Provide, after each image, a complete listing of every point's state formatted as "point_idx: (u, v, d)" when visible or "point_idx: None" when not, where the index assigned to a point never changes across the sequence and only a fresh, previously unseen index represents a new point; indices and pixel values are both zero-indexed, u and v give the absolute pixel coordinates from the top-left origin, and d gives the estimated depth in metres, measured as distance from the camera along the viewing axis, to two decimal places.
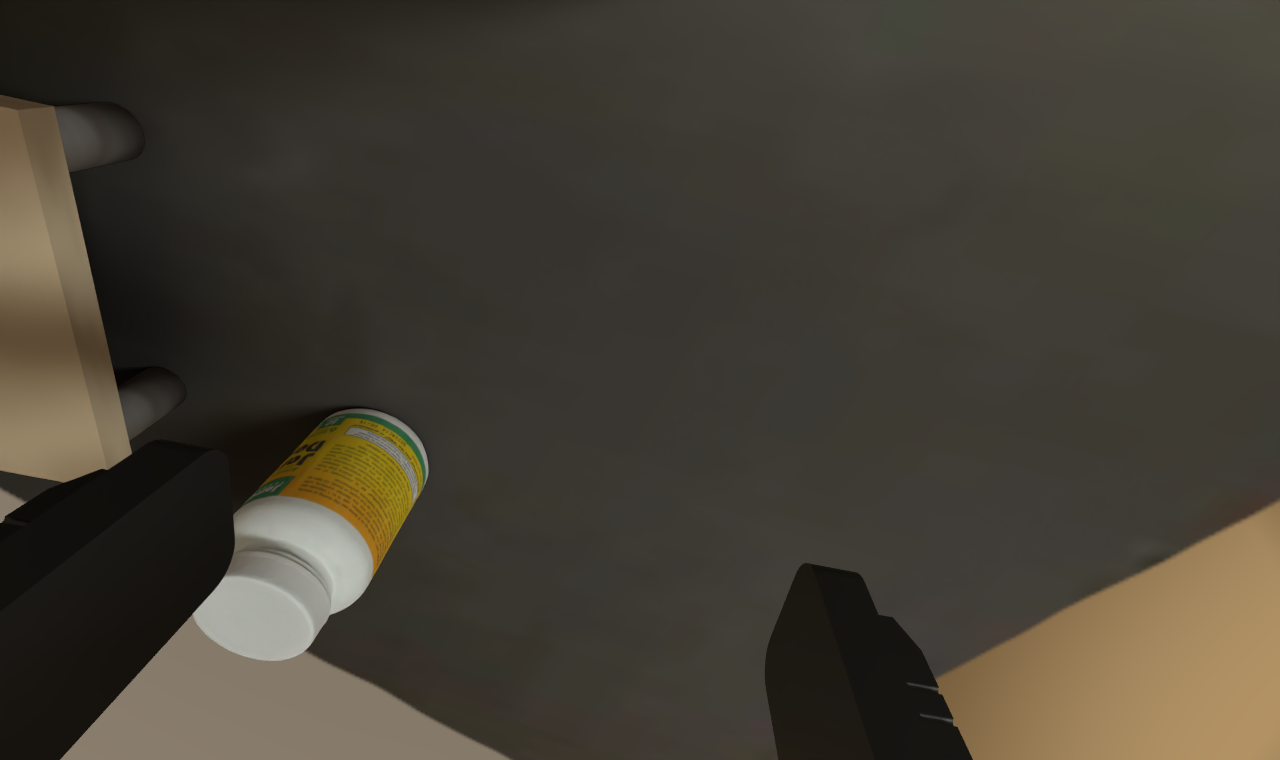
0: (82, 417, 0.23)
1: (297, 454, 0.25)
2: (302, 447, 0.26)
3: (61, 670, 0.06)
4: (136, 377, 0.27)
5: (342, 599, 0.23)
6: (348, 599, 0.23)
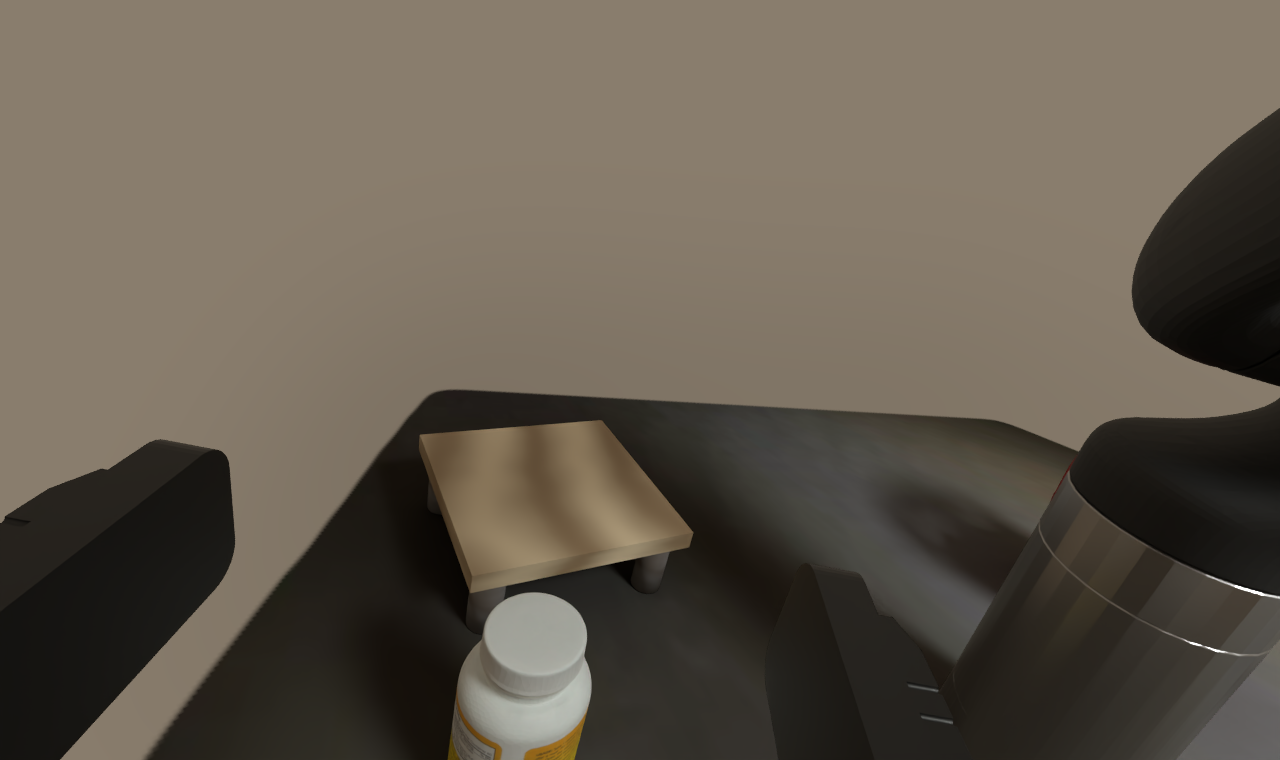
0: (530, 558, 0.35)
1: None
2: None
3: (61, 671, 0.06)
4: None
5: (525, 717, 0.23)
6: (524, 723, 0.23)
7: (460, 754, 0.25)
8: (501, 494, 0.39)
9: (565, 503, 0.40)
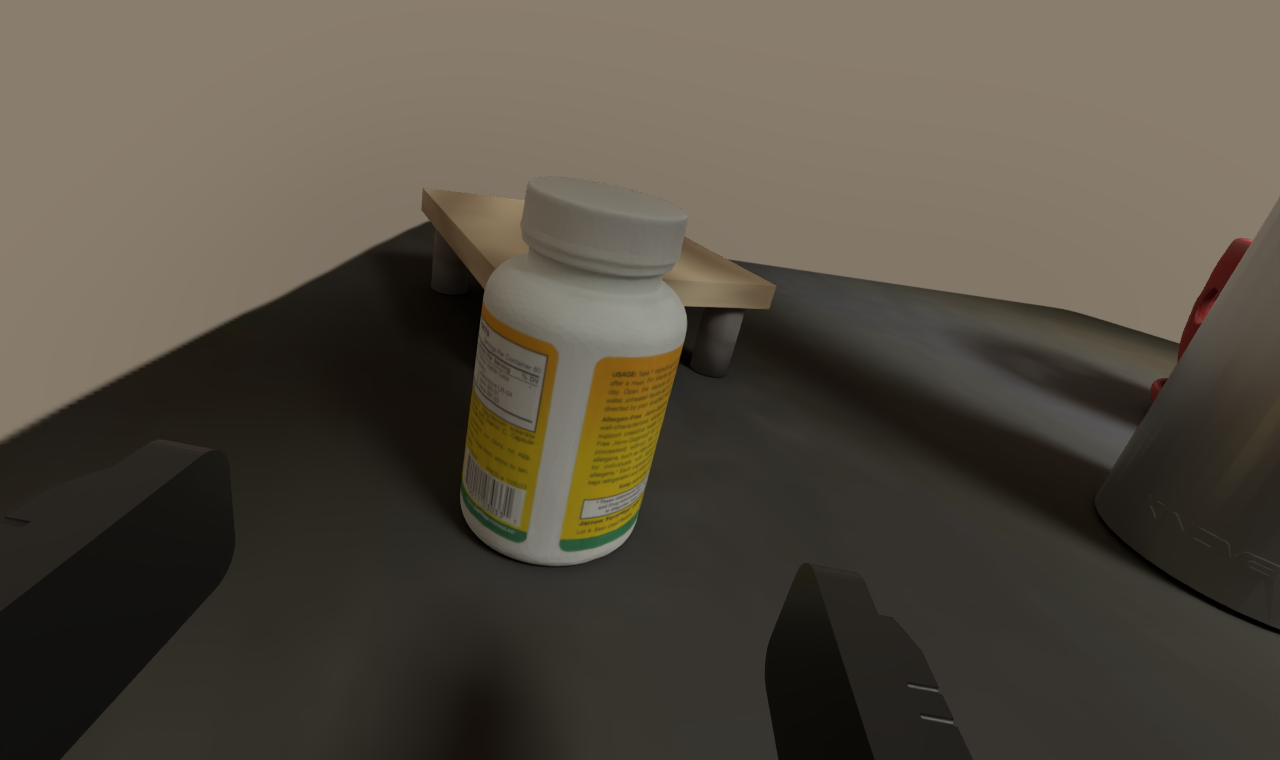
0: None
1: None
2: None
3: (61, 671, 0.06)
4: None
5: (596, 304, 0.15)
6: (595, 311, 0.14)
7: (487, 398, 0.16)
8: None
9: None
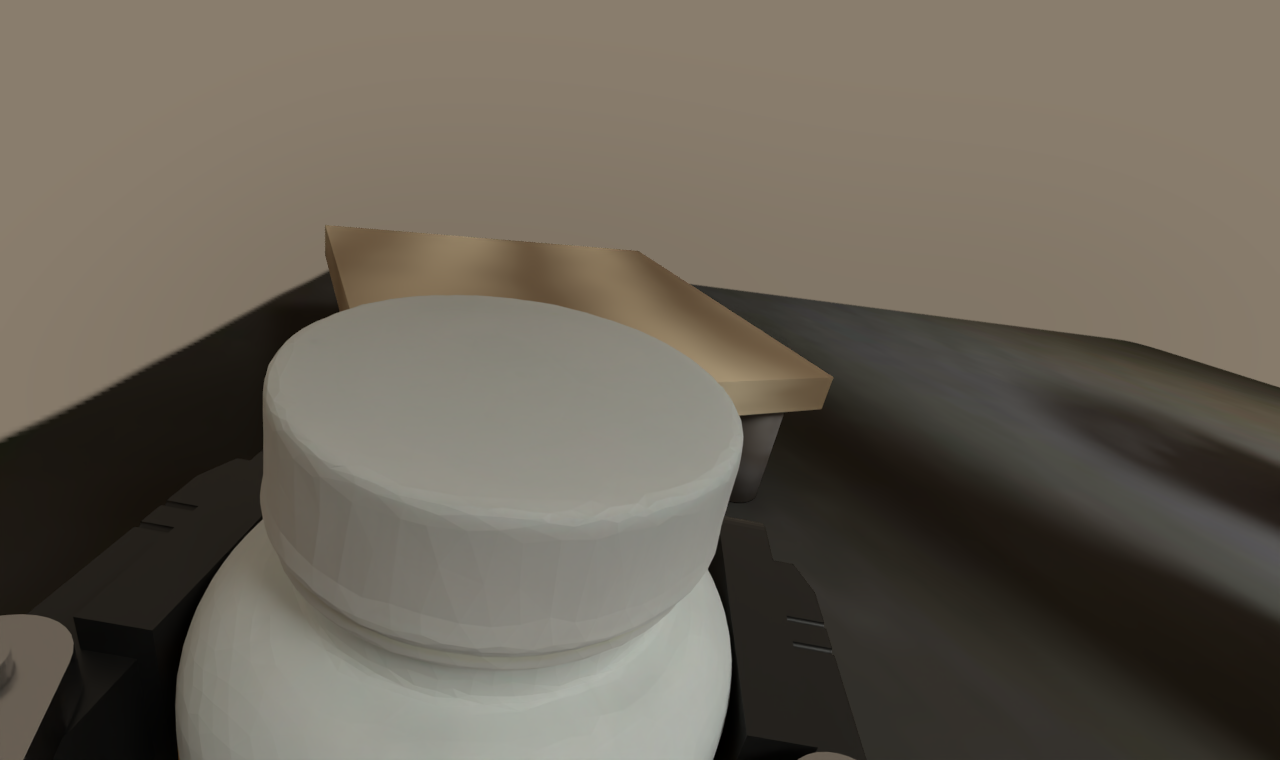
0: None
1: None
2: None
3: None
4: None
5: None
6: None
7: None
8: None
9: None
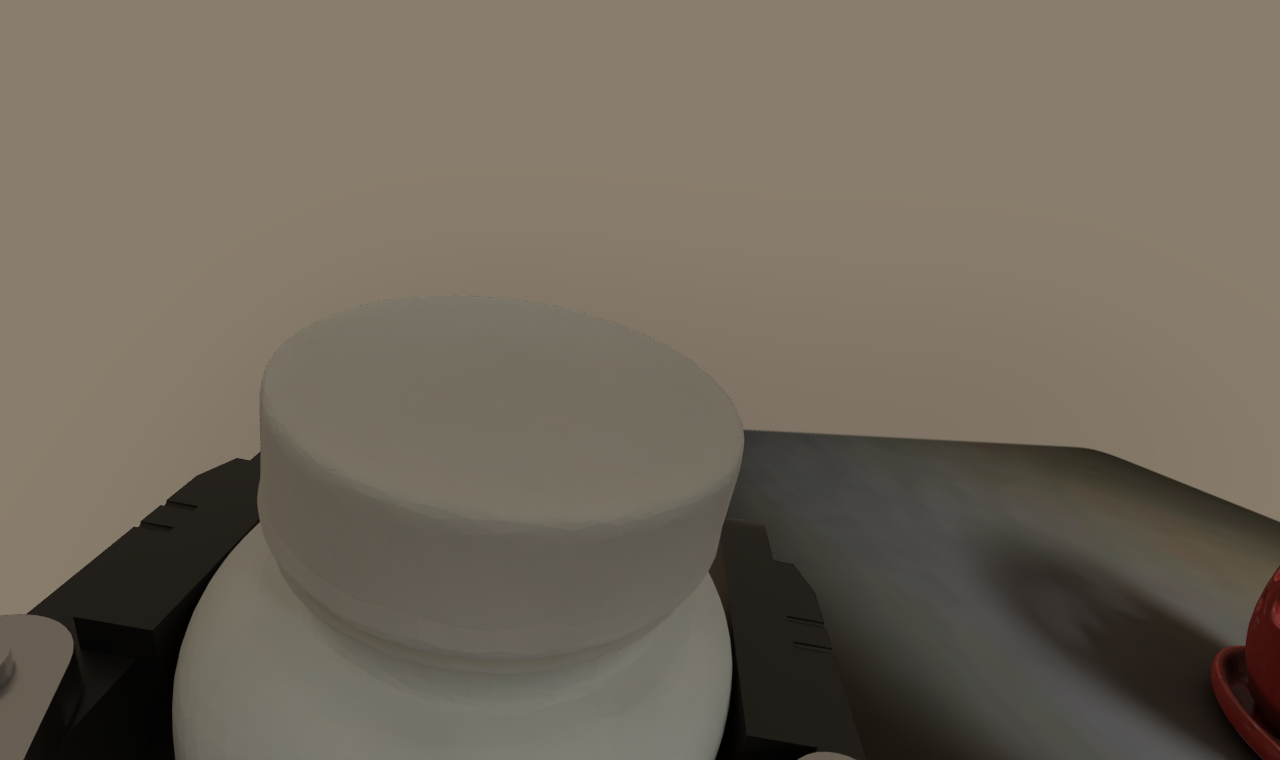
0: None
1: None
2: None
3: None
4: None
5: None
6: None
7: None
8: None
9: None
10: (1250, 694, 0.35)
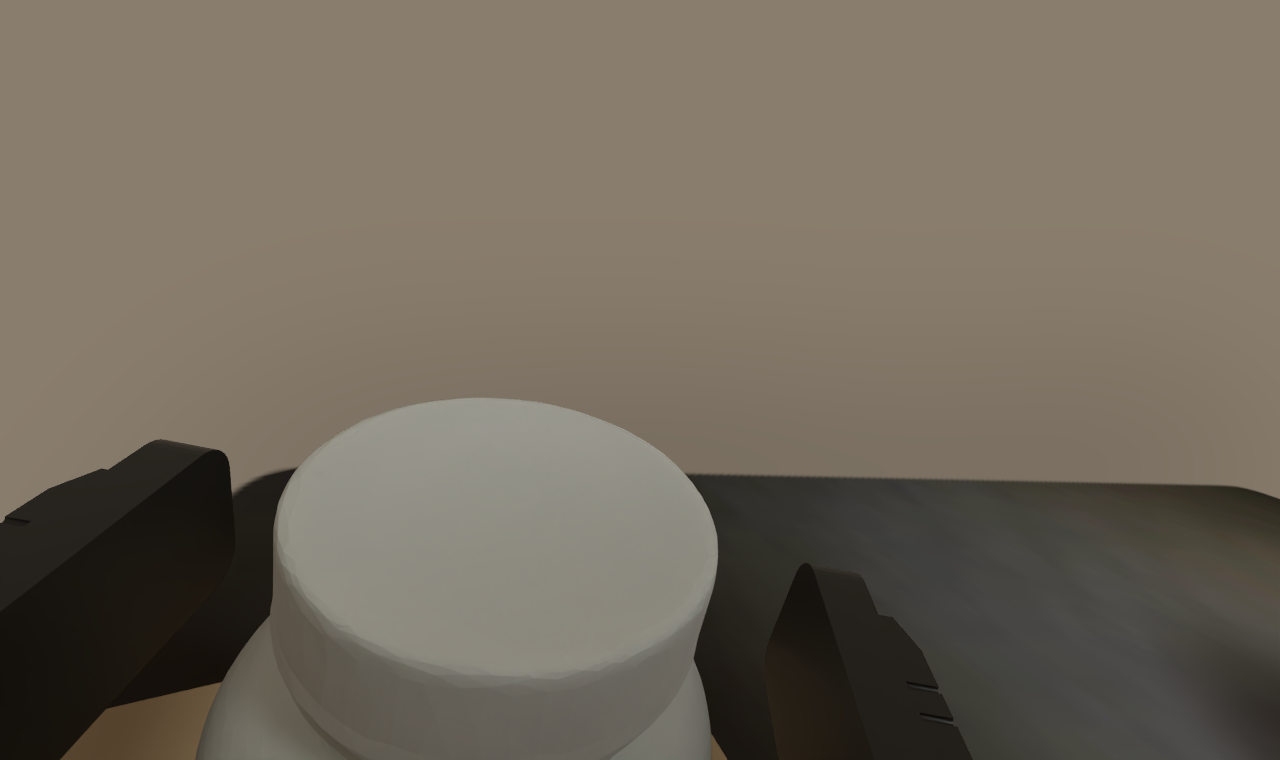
0: None
1: None
2: None
3: (61, 671, 0.06)
4: None
5: None
6: None
7: None
8: None
9: None
10: None
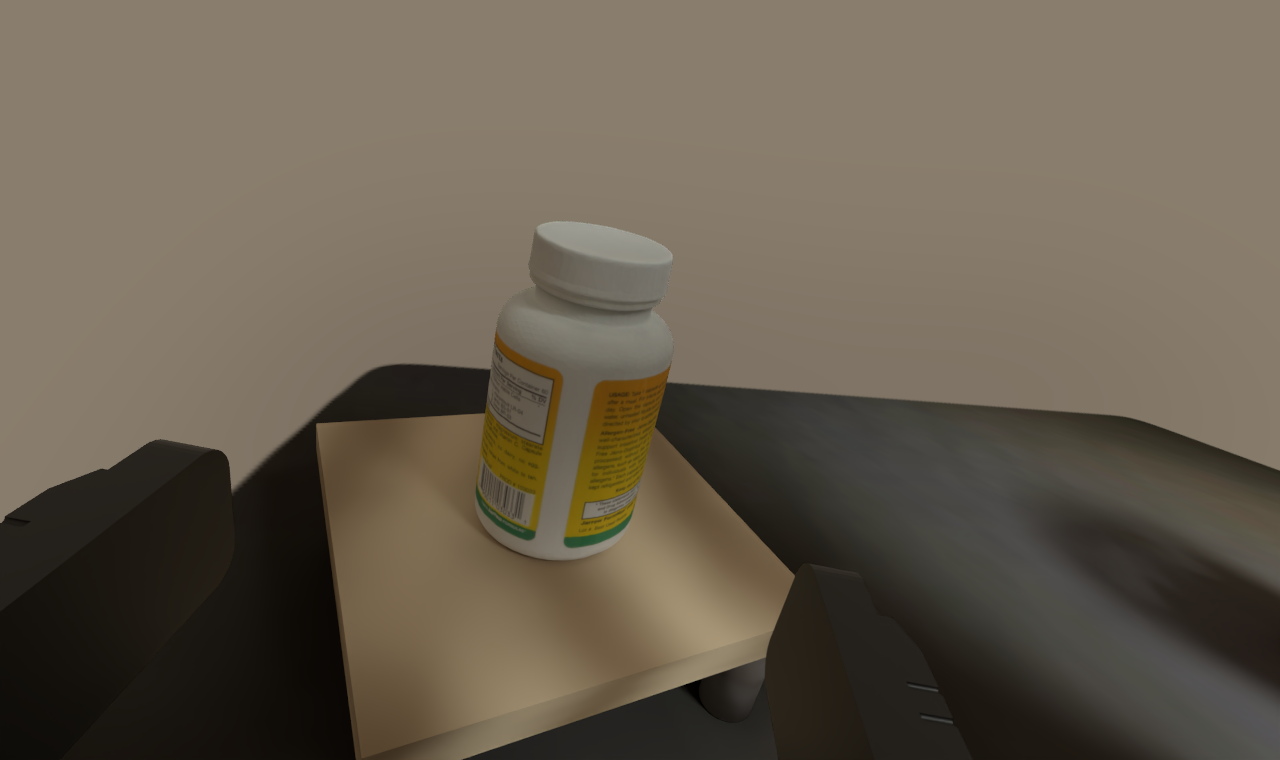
0: (508, 695, 0.15)
1: None
2: None
3: (61, 671, 0.06)
4: None
5: (595, 335, 0.17)
6: (594, 342, 0.17)
7: (500, 415, 0.18)
8: (454, 538, 0.20)
9: None
10: None
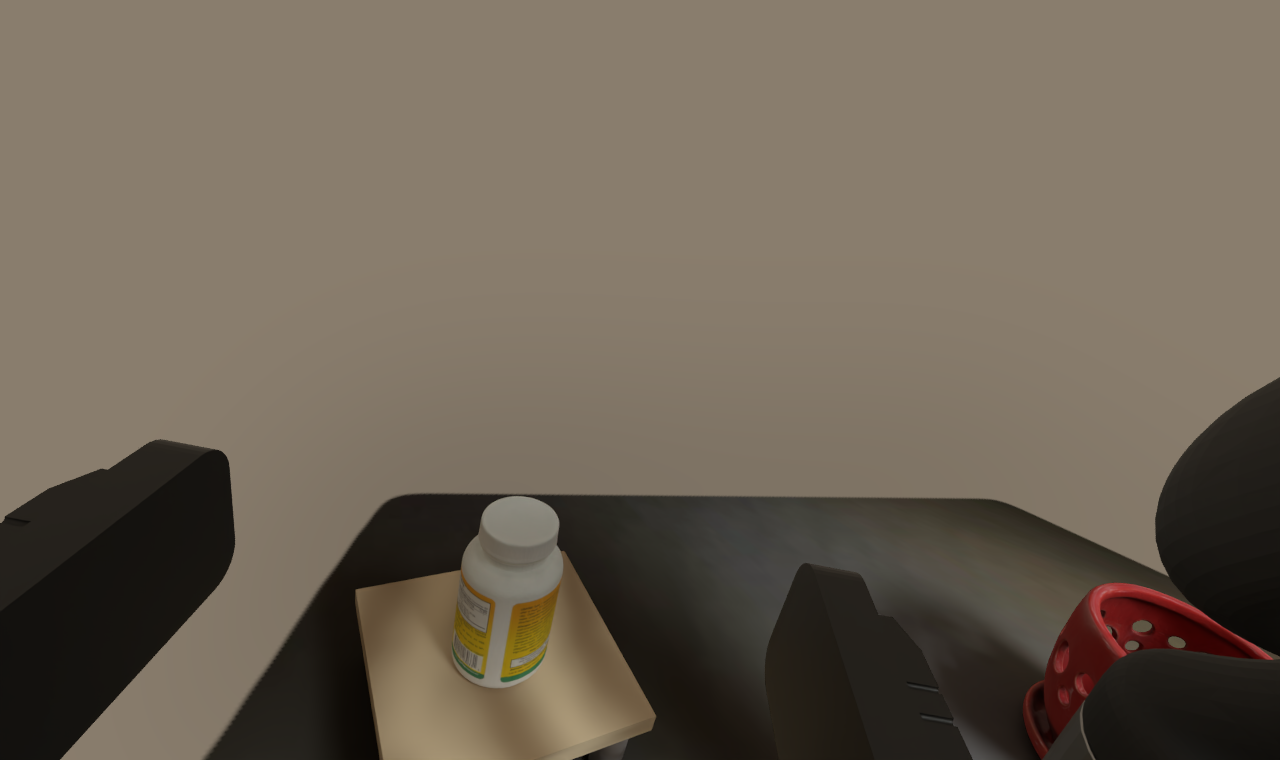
0: None
1: None
2: None
3: (61, 670, 0.06)
4: None
5: (512, 580, 0.32)
6: (512, 584, 0.32)
7: (464, 613, 0.33)
8: (439, 674, 0.35)
9: None
10: None
